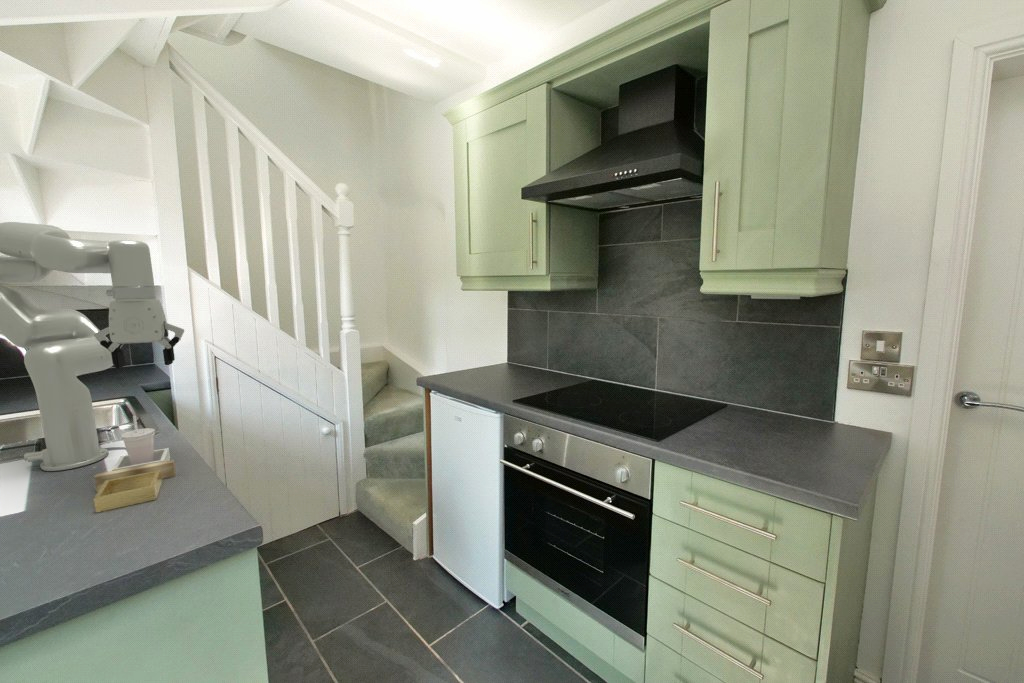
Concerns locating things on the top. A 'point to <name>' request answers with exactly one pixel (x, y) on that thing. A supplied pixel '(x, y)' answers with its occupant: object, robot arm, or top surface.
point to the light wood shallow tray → (128, 491)
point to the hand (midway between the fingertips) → (145, 365)
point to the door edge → (137, 472)
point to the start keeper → (157, 457)
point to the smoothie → (139, 444)
